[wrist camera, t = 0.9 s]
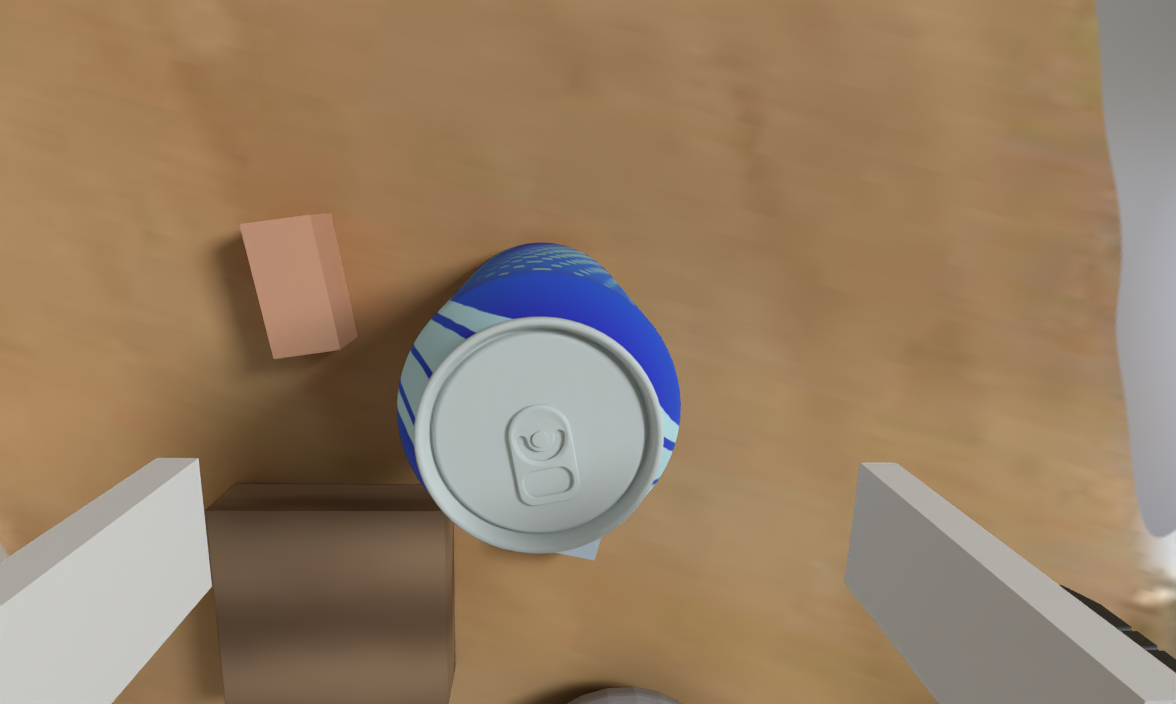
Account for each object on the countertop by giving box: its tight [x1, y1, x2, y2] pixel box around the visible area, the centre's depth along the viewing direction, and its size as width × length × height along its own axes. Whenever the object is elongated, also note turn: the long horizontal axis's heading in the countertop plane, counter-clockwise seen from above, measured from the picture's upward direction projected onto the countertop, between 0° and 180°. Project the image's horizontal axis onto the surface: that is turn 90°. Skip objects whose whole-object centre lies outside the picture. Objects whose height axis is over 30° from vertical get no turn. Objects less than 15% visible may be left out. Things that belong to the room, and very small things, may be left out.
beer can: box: [397, 243, 681, 554], centre depth 25 cm, size 8×8×16 cm
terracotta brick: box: [239, 213, 358, 359], centre depth 30 cm, size 6×3×3 cm, turn 8°
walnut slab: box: [205, 484, 455, 704], centre depth 34 cm, size 11×11×3 cm
